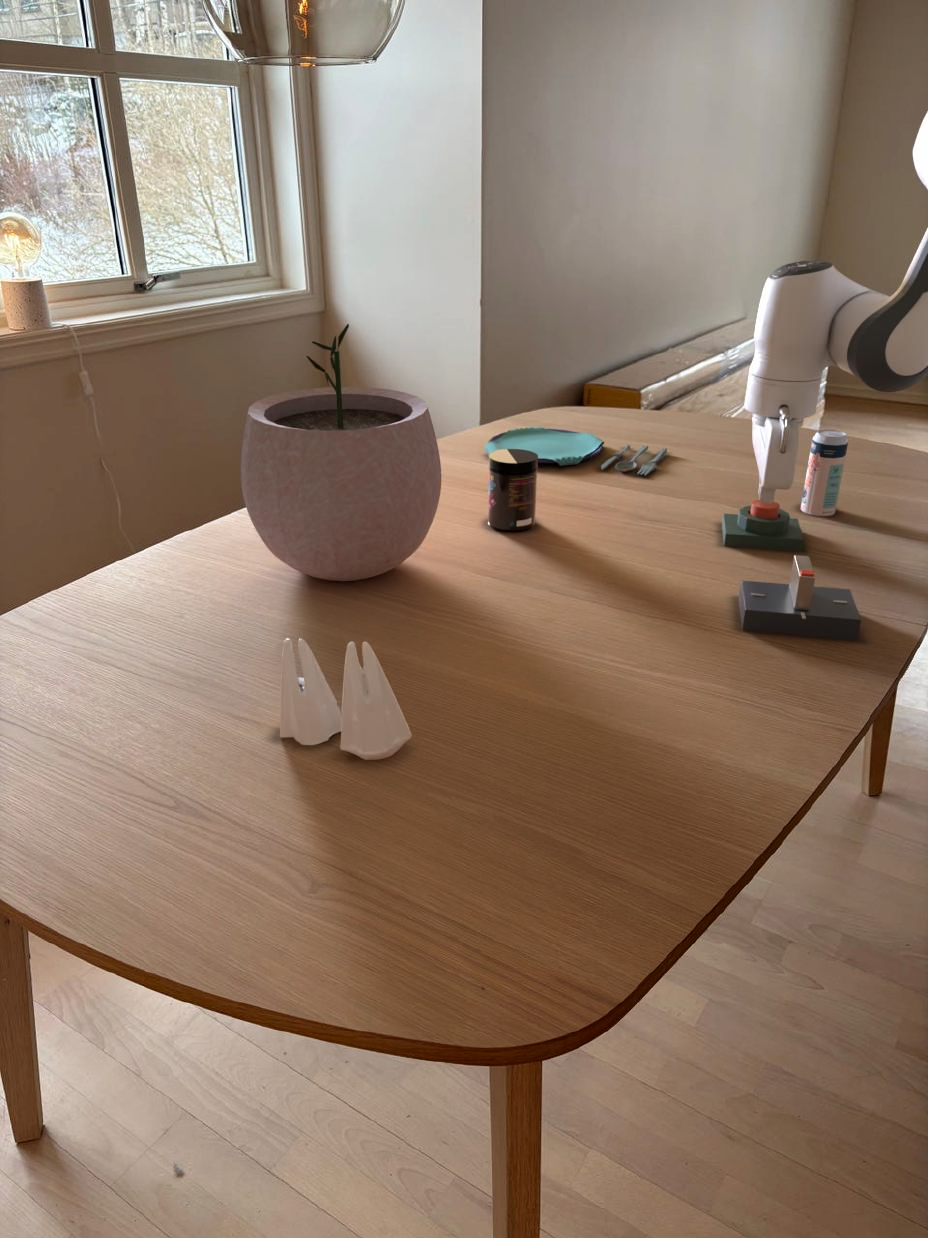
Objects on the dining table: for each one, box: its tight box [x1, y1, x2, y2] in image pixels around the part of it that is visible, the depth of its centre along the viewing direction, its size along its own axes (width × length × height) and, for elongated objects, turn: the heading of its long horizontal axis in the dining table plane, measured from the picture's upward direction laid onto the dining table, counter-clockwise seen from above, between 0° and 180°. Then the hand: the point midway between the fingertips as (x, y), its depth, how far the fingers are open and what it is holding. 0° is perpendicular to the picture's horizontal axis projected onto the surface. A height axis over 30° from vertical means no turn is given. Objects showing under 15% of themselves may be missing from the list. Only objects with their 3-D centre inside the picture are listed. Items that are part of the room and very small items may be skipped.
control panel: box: [738, 580, 862, 642], centre depth 107 cm, size 12×10×3 cm
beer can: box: [800, 429, 849, 517], centre depth 137 cm, size 5×5×12 cm
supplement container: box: [487, 449, 539, 534], centre depth 132 cm, size 7×7×10 cm
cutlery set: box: [484, 426, 668, 477], centre depth 163 cm, size 20×30×2 cm, turn 64°
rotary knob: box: [788, 554, 816, 611], centre depth 105 cm, size 6×2×4 cm, turn 168°
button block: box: [721, 505, 805, 553], centre depth 129 cm, size 10×8×4 cm
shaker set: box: [279, 637, 412, 761], centre depth 83 cm, size 12×4×11 cm, turn 64°
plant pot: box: [240, 323, 442, 582], centre depth 114 cm, size 24×24×30 cm
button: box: [750, 499, 780, 519], centre depth 128 cm, size 4×4×2 cm
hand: (765, 500), depth 127 cm, fingers closed
